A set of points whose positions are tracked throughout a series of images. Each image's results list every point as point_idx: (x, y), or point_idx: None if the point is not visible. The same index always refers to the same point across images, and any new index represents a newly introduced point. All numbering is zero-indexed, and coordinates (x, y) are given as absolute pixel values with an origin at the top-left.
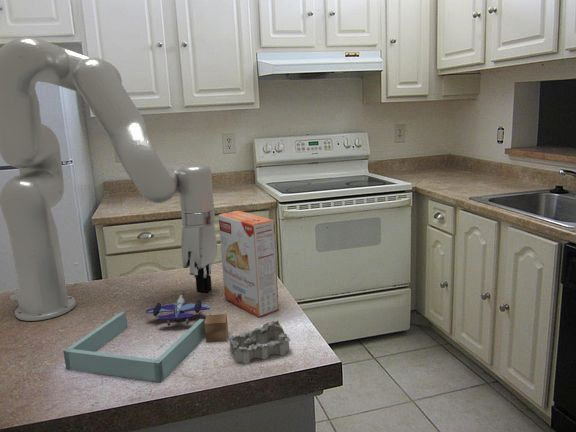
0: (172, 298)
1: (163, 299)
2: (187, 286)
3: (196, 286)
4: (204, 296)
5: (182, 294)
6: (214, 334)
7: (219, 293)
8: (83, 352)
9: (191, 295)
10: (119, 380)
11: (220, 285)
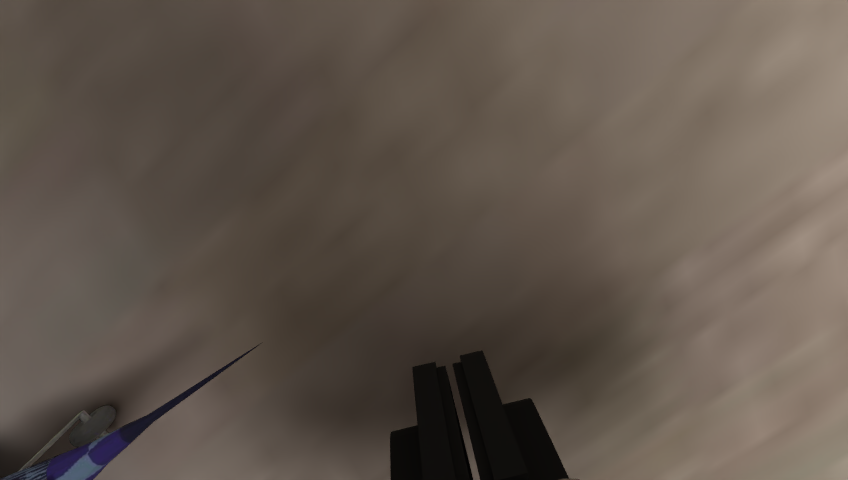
0: (250, 135)
1: (173, 54)
2: (614, 41)
3: (416, 402)
4: None
5: (126, 432)
6: None
7: None
8: None
9: (410, 267)
10: None
11: (734, 353)
